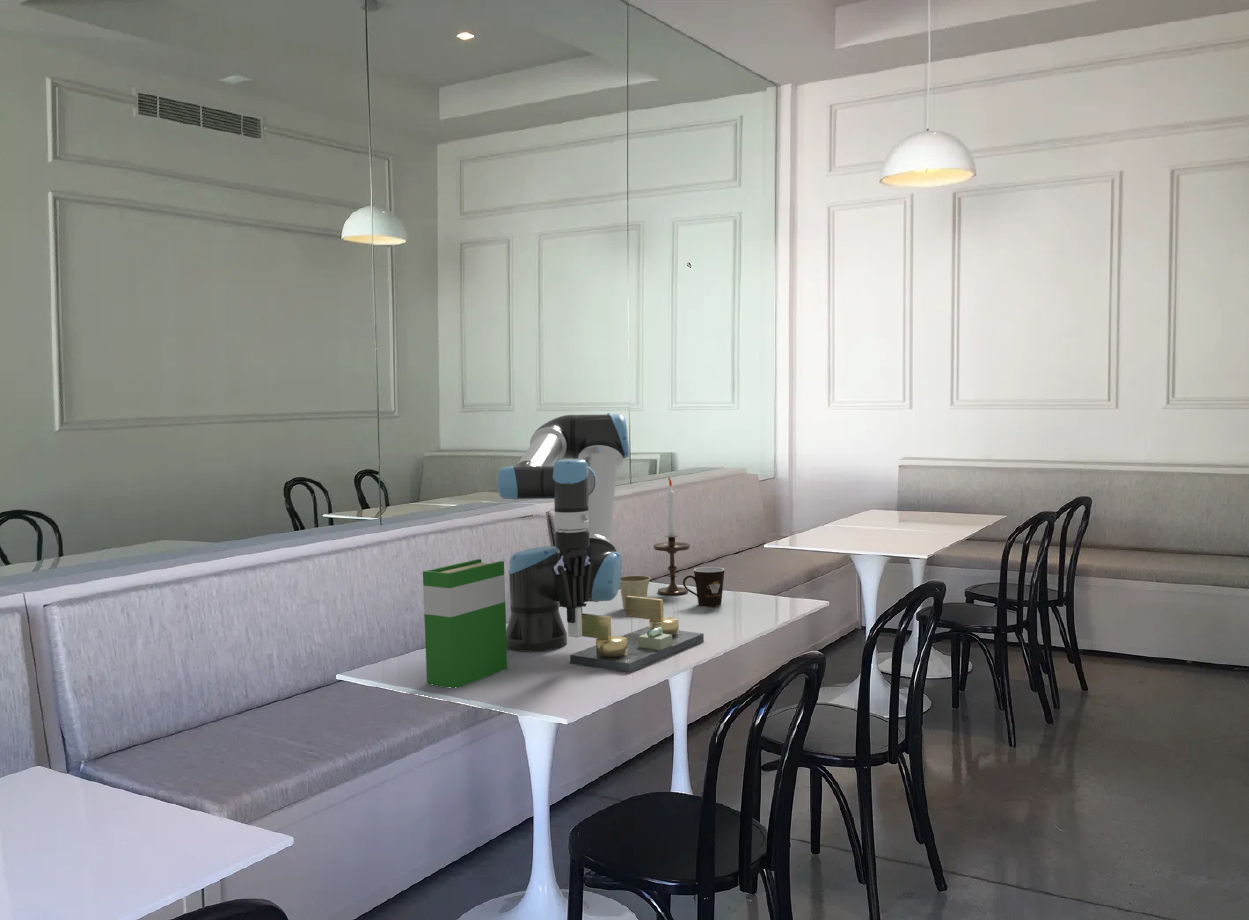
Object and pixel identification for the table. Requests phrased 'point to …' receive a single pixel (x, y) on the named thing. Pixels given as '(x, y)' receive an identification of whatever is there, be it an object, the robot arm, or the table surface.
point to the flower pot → (633, 587)
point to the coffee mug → (708, 585)
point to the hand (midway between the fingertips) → (575, 636)
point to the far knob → (651, 613)
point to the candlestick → (671, 549)
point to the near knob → (603, 635)
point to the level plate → (640, 650)
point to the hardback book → (464, 622)
